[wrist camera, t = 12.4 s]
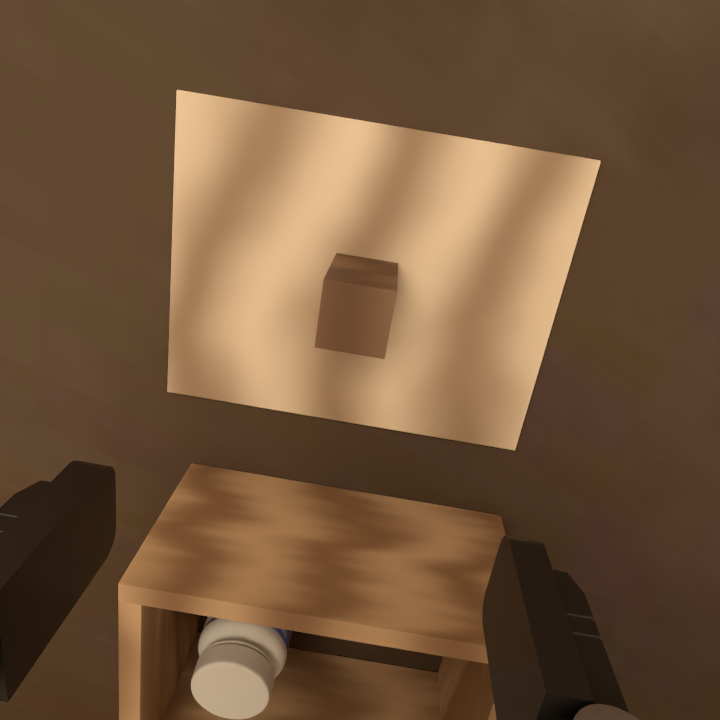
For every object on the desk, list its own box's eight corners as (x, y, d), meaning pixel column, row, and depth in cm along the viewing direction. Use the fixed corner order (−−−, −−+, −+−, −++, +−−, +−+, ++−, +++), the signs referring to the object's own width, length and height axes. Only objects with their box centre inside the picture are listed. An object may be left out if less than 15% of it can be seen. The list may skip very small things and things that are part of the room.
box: (500, 515, 34) (535, 654, 25) (449, 685, 39) (462, 848, 31) (191, 463, 34) (118, 583, 25) (182, 640, 39) (119, 790, 31)
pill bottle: (316, 560, 36) (293, 681, 28) (285, 611, 38) (255, 738, 30) (245, 528, 36) (202, 643, 28) (217, 581, 37) (168, 704, 30)
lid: (594, 159, 27) (643, 170, 22) (511, 441, 33) (533, 506, 27) (184, 90, 27) (128, 84, 22) (174, 383, 33) (127, 438, 27)
